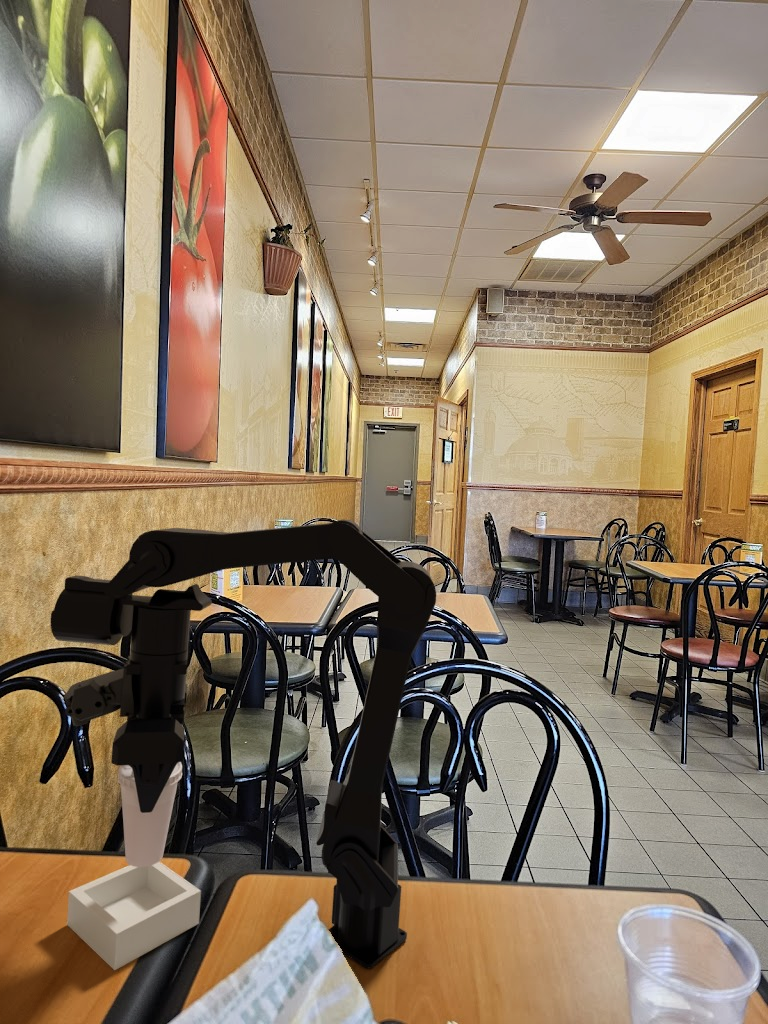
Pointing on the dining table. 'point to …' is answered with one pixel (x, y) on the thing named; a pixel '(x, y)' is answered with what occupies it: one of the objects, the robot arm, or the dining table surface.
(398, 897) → the robot arm
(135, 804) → the smoothie
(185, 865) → the dining table surface
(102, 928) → the box
